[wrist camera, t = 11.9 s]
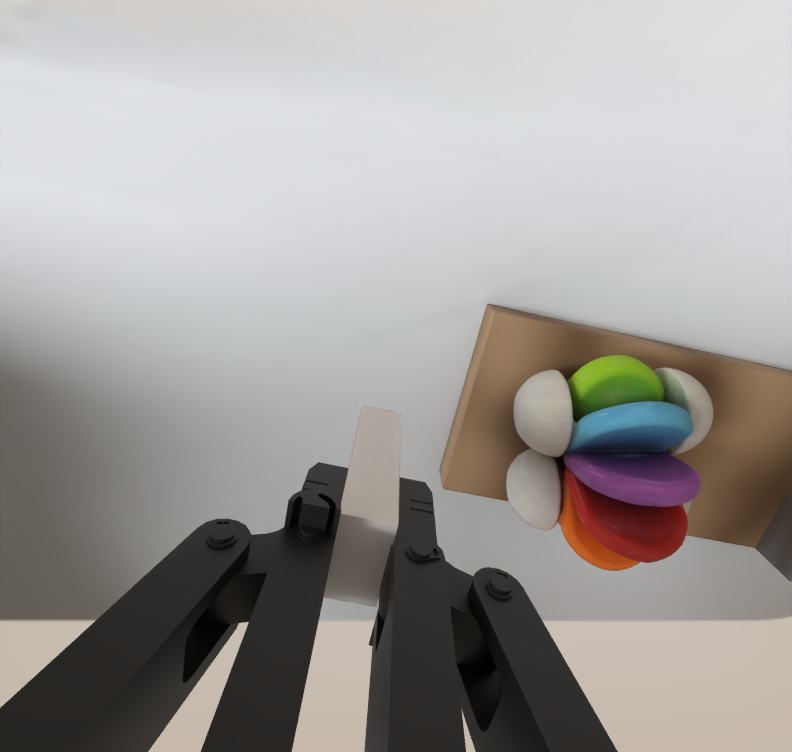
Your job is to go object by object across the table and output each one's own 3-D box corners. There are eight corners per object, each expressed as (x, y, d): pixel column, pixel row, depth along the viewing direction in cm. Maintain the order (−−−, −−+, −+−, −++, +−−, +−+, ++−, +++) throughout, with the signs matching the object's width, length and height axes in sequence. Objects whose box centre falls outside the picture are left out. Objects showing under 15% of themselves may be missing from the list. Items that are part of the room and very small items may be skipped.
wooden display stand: (439, 469, 27) (449, 526, 22) (487, 303, 24) (510, 328, 19) (753, 529, 29) (827, 596, 24) (840, 381, 25) (947, 423, 20)
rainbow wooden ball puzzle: (496, 509, 26) (532, 618, 19) (513, 341, 22) (564, 400, 16) (649, 510, 26) (739, 620, 19) (688, 342, 22) (815, 402, 16)
